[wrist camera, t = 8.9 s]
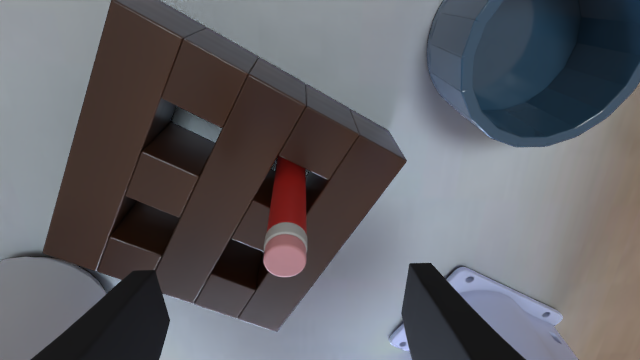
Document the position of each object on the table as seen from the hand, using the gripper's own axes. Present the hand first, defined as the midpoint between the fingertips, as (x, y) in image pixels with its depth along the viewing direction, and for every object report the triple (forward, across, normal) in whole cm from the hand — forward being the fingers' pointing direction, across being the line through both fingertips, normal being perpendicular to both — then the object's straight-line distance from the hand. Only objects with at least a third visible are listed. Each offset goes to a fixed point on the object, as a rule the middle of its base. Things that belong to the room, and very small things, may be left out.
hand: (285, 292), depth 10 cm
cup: (+9, -10, -6) cm, 14 cm away
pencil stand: (+9, +3, +1) cm, 10 cm away
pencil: (+9, 0, 0) cm, 9 cm away
